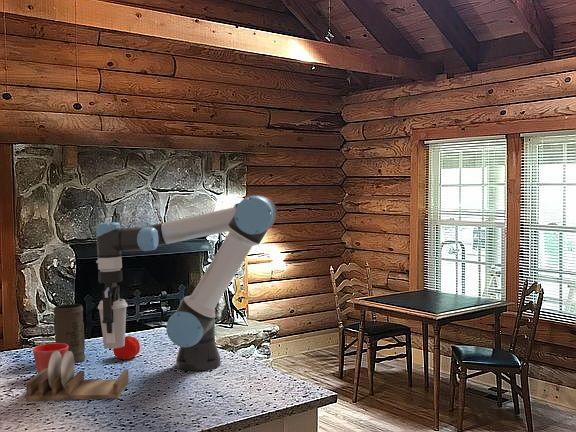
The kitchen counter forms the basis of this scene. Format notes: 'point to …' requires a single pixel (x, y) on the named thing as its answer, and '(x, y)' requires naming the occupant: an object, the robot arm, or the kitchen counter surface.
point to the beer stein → (70, 329)
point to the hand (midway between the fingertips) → (113, 340)
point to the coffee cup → (115, 323)
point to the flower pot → (47, 353)
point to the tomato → (128, 348)
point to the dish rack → (71, 382)
